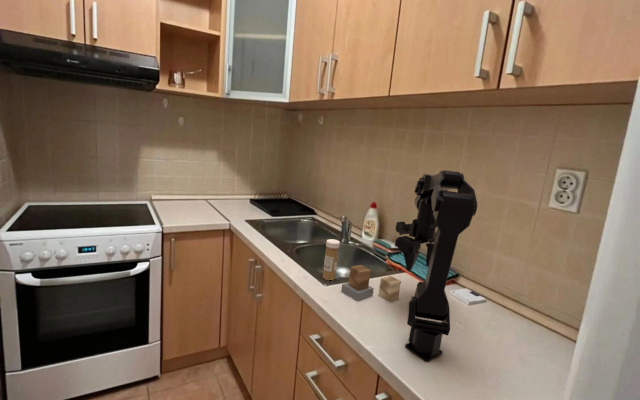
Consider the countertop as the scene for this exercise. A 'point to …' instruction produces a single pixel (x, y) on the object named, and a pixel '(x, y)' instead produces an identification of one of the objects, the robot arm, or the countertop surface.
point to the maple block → (389, 288)
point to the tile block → (357, 292)
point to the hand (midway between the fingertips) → (418, 268)
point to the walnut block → (359, 277)
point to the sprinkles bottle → (331, 259)
